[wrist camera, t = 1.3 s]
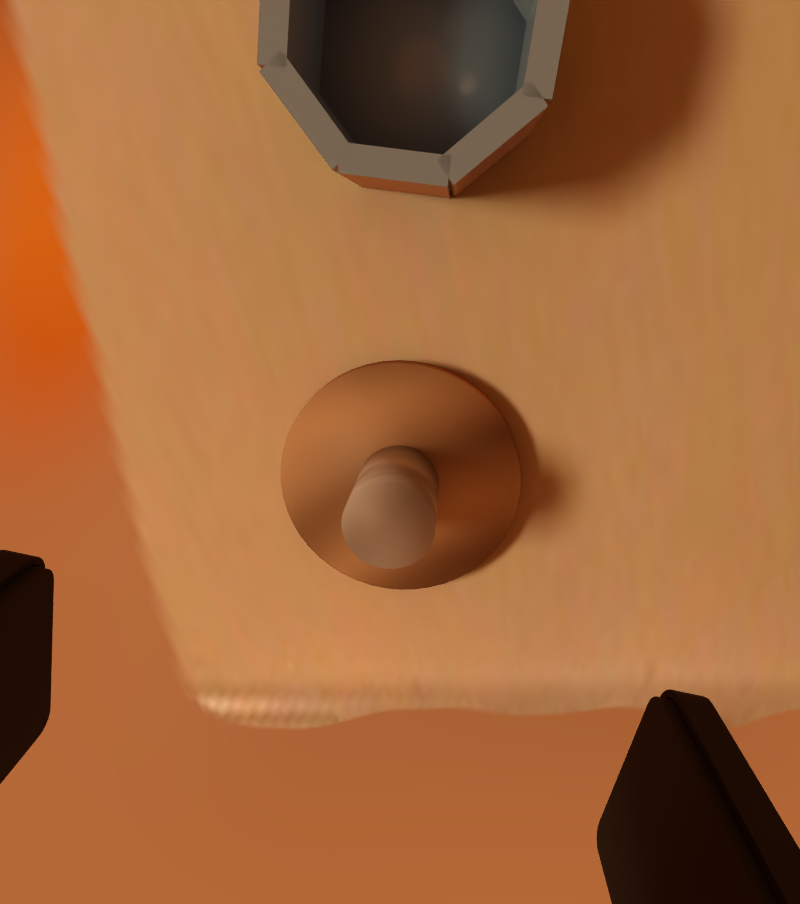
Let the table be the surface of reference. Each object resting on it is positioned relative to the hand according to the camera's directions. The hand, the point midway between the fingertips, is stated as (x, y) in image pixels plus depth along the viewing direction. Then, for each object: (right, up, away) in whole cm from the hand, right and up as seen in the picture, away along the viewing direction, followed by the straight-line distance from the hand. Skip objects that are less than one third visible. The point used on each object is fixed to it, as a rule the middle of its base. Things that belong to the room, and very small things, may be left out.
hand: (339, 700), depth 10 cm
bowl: (+2, +20, +16) cm, 26 cm away
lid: (+1, +3, +22) cm, 23 cm away
